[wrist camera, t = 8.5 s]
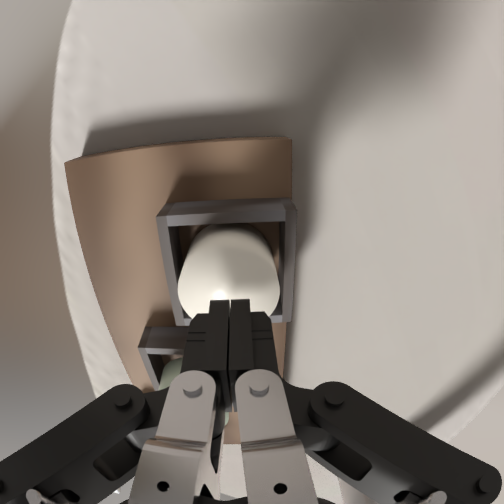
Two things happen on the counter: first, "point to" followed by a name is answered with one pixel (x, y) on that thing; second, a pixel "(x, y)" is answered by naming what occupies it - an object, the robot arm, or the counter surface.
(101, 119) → the counter surface
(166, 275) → the button panel
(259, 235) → the cream button
